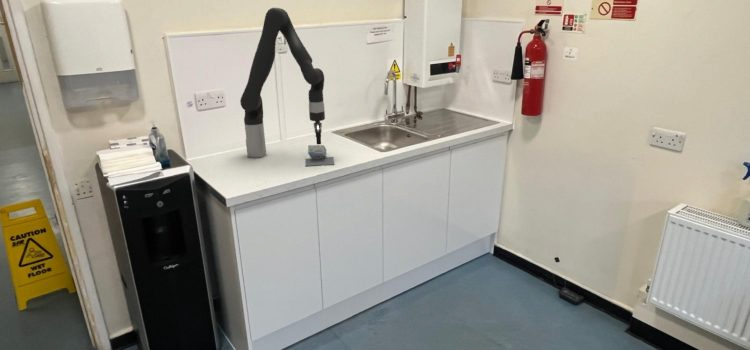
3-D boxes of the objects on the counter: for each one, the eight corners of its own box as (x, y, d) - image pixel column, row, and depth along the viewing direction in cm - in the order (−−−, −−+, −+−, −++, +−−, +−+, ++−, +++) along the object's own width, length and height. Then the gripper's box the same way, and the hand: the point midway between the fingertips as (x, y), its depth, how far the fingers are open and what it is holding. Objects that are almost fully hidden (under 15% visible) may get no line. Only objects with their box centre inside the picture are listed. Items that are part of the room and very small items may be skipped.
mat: (305, 166, 223) (305, 165, 223) (305, 159, 234) (305, 158, 233) (334, 164, 225) (334, 164, 225) (333, 157, 235) (333, 156, 235)
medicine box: (326, 149, 236) (324, 144, 228) (326, 157, 235) (323, 153, 227) (311, 149, 236) (308, 144, 228) (310, 158, 236) (307, 153, 227)
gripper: (309, 107, 233) (311, 140, 240) (309, 113, 221) (311, 148, 227) (324, 107, 234) (325, 139, 240) (324, 112, 222) (326, 147, 228)
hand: (318, 143), depth 234 cm, fingers closed
